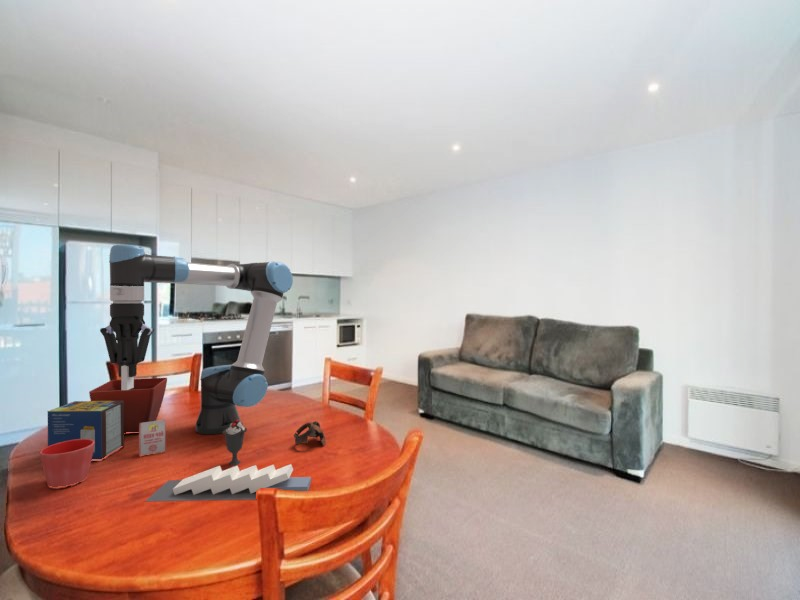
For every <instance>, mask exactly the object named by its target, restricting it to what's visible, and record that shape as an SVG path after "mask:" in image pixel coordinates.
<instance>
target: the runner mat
mask: <svg viewBox="0 0 800 600" xmlns="http://www.w3.org/2000/svg"><path fill="white" fill-rule="evenodd" d="M182 480H183V479H180V480H177V479H175V480H171V479H170V480H166V482H165V483H163V485H162V486H161V487H159V489H157V490H156V491H155V492H153V494H151V495H150V496H149V497H148V498H146V500H145V501H144V502H183V501H185V502H187V501H189V502H192V501H202V502H203V501H241V500H242V501H246V500H247V501H250V500H252V501H253V500H256V492H254V493H250V490H249V488H247V489H244V490H242V491H239V492H237V493H234V494H232V493H231V490H230V488H229V489H226V490H224V491H221V492H219V493H216V494H213V493H212V490H211V489H208V490H205V491H203V492H200V493H197V494H195V495H193V492H192V490H191V489H190V490H187V491H185V492H182V493H179V494H177V495H175V494H174V492H173V488H174V487H175V486H176V485H178V484H179V483H180V482H181V481H182ZM256 501H257V500H256Z"/></svg>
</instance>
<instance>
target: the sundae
mask: <svg viewBox="0 0 800 600" xmlns="http://www.w3.org/2000/svg"><path fill="white" fill-rule="evenodd" d="M235 417H236V416H235ZM235 417H234V418H235ZM243 425H244V424H243V422H242V421H241V420H240V421H238V420H237V419H235V421H234V419H233V422H232V423H231V424H230V426H229V427H228V428H227V429H225V430H224V431H223V432H222V433H221V434H223V435H224V437H225V445H226V450H227V451H228V452H229V453H231V454H232V458H231V461H230V462H229V463H228V465H229V466H237V465H239V464H241V460H238V452H240V450H242V449H243V444H244V436H245V433H247V431H248V428H247V427H245V425H244V426H243Z"/></svg>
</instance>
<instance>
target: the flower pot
mask: <svg viewBox="0 0 800 600" xmlns="http://www.w3.org/2000/svg"><path fill="white" fill-rule="evenodd" d="M94 445H95V441H94V440H91V439H76V440H69V441H64V442H60V443H57V444H53V445H50V446H48V445H47V446H45V447H44V448H42V449H41V450H40V451H39V457H40V461H41V464H42V469H43V473H44V476H45V480H46V484H47V486H48V485H49V486H52V487H58V486H66V485H70V484H74V483H77V482H80V481H82V480H84V479H85V478H86V477H87V478H88V476H89V471H90V467H91V463H92V462H91V460H92V455H93V450H94ZM84 481H85V480H84Z"/></svg>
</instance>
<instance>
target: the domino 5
mask: <svg viewBox="0 0 800 600" xmlns="http://www.w3.org/2000/svg"><path fill="white" fill-rule="evenodd" d="M293 471H294V468H293V465H292V463H290V464H288V465H284V466H282V467H279V468H277V469H276V470H275V472H274V474H273V475H272V477H271V479H270V480H267V481H265V482H262V483H260V484H257V485H255V486H252V487H249V490H250V493H254V492H256V491H257V490H258V489H260V488H267V487H269V486H272V485H274V484H277V483H279V482H282V481H285V480H287V479H289V477H291V475H292V473H293Z"/></svg>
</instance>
